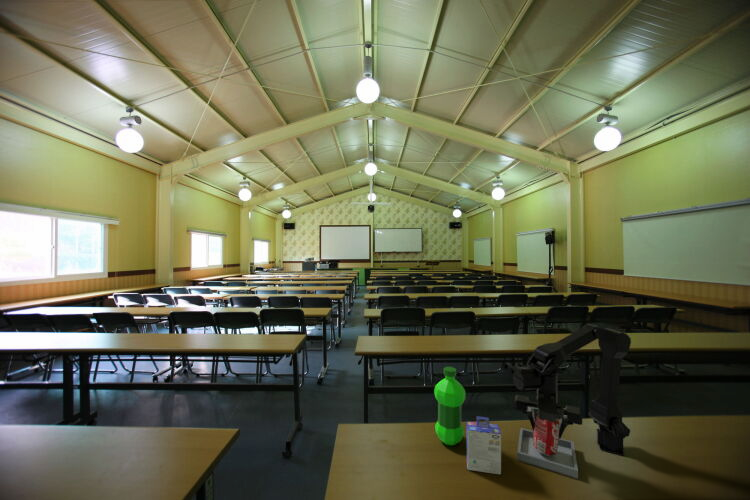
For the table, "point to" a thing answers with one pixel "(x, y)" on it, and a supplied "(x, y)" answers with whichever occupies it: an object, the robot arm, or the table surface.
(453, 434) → the plastic bottle
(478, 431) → the ink cartridge box
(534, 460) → the tray
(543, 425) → the soda can
